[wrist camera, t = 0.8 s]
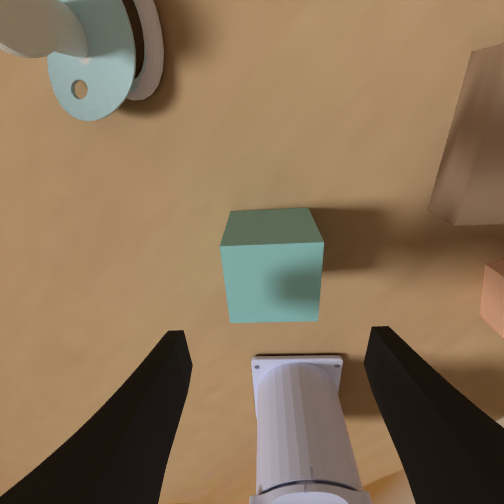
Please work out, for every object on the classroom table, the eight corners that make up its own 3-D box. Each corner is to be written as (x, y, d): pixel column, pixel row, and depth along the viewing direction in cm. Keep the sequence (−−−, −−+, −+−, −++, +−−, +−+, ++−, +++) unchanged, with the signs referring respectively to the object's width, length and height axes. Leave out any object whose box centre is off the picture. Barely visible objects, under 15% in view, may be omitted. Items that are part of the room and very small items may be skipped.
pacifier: (125, -101, 11) (1, -52, 12) (-6, -318, 5) (-231, -201, 6) (187, 98, 14) (88, 127, 15) (146, 91, 9) (-9, 137, 9)
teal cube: (305, 272, 19) (318, 321, 15) (237, 274, 19) (230, 322, 15) (308, 207, 17) (324, 242, 12) (230, 210, 17) (219, 246, 13)
